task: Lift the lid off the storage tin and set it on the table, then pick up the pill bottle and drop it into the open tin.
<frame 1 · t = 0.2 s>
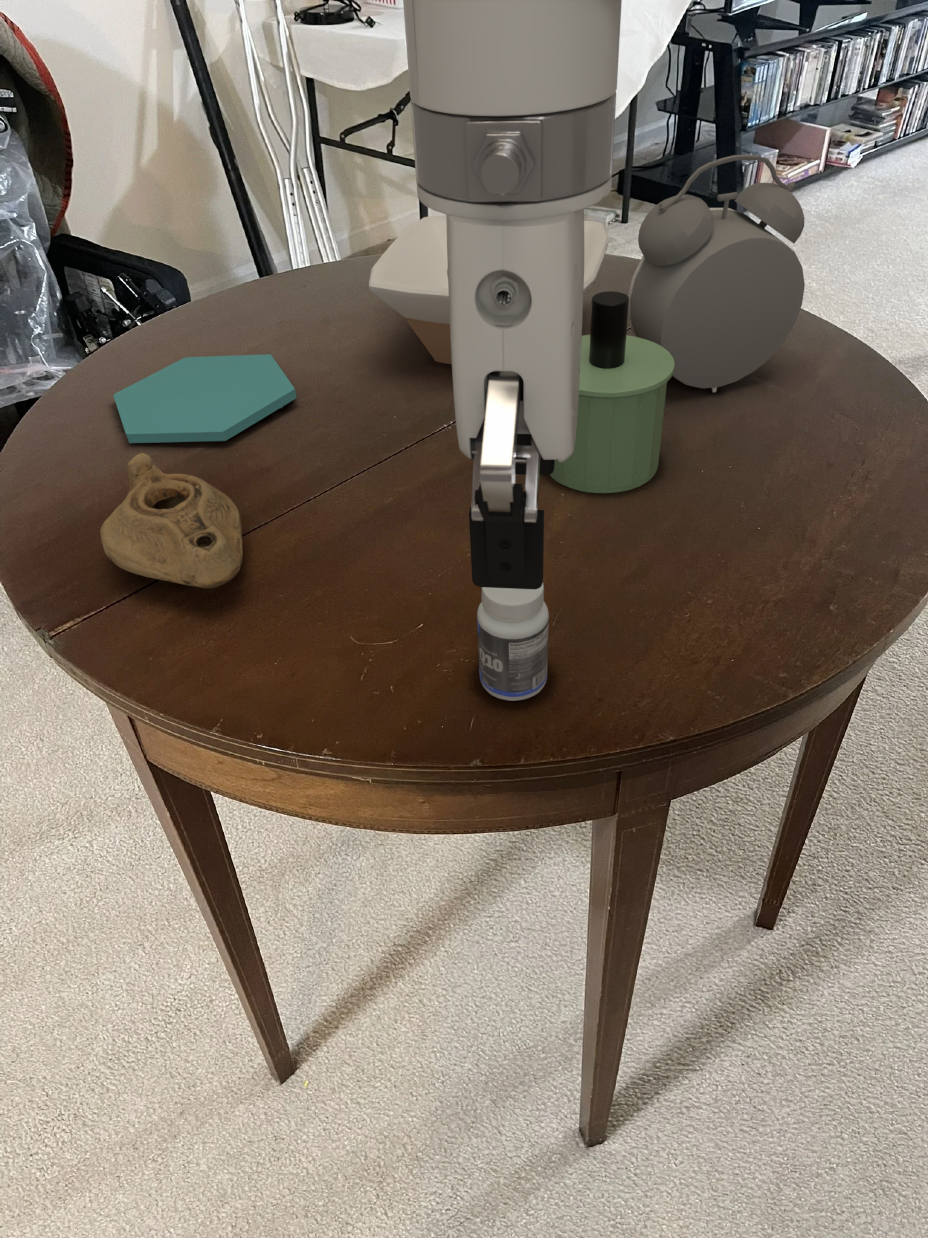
hand: (516, 523, 46), 19 cm above the table, tool pointing down, fingers open, 9 cm apart
tin lid: (606, 366, 80), point 9 cm above the table, touching storage tin
bowl: (494, 346, 107), on the table
storage tin: (600, 462, 86), on the table
pill bottle: (513, 680, 65), on the table
plaque: (206, 407, 98), on the table
alarm clock: (703, 384, 97), on the table
oil lamp: (193, 568, 76), on the table
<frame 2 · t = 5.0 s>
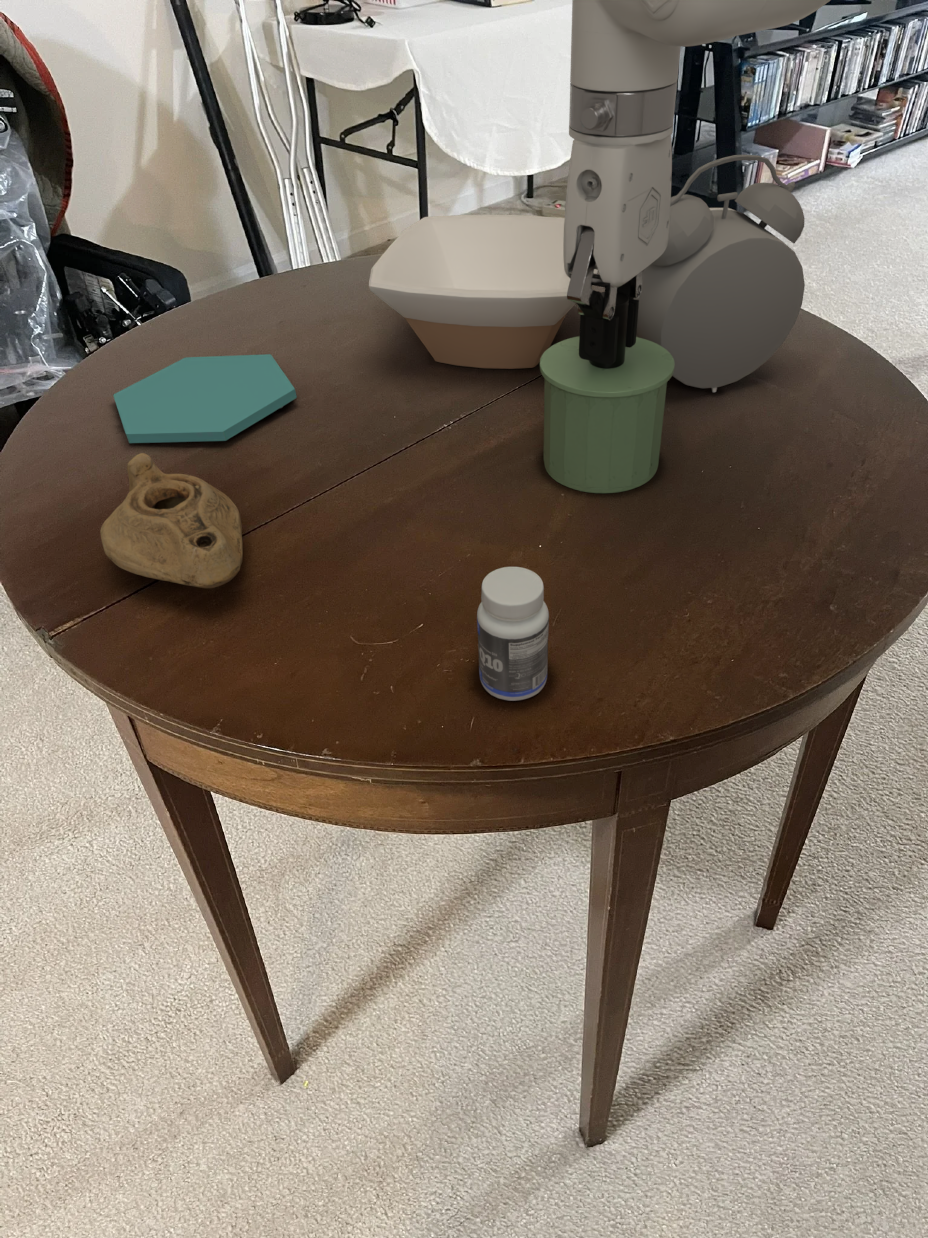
hand: (607, 349, 79), 11 cm above the table, tool pointing down, fingers closed on tin lid, 3 cm apart
tin lid: (606, 366, 80), point 10 cm above the table, touching gripper, storage tin
everything else where it was.
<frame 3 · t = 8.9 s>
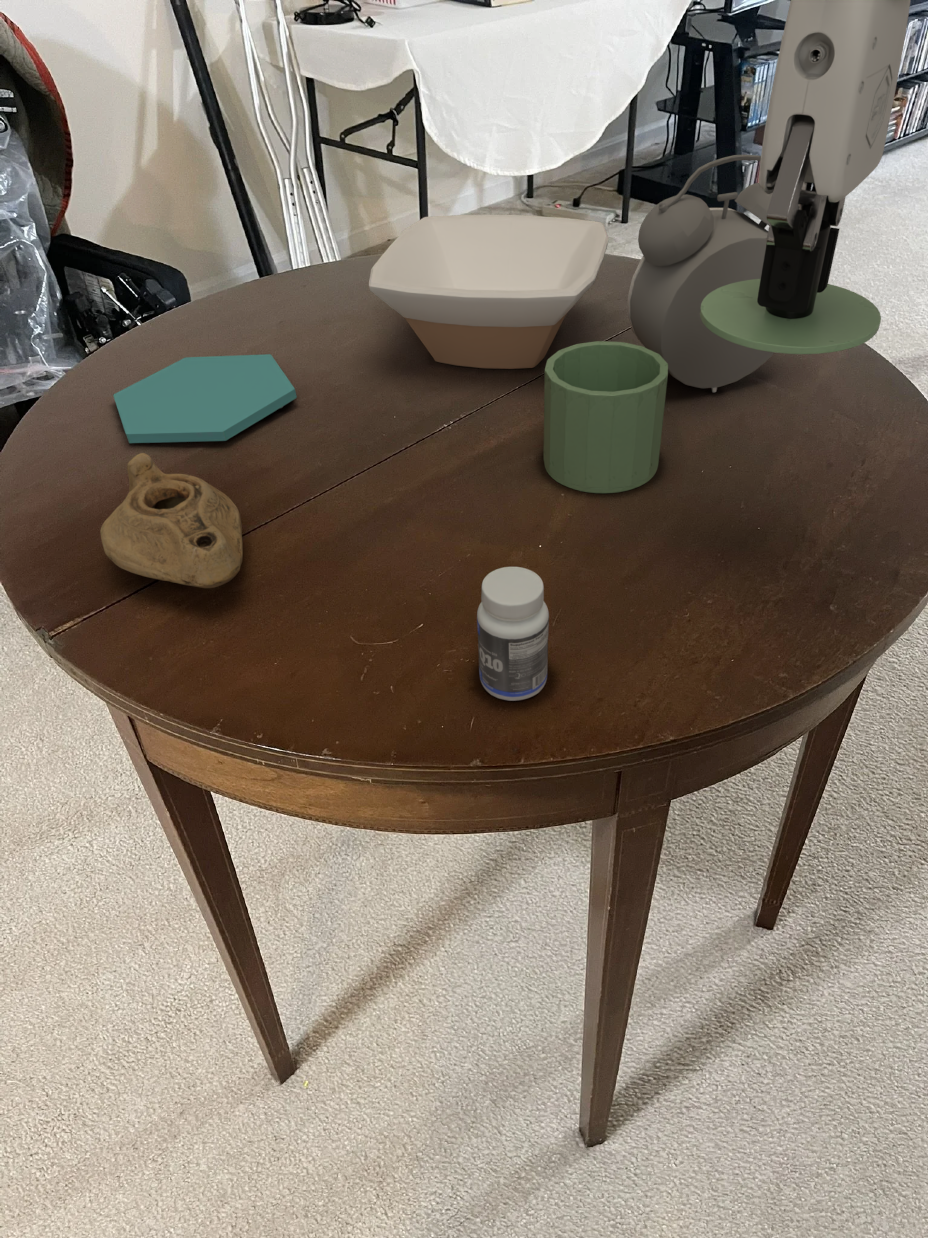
hand: (792, 295, 61), 21 cm above the table, tool pointing down, fingers closed on tin lid, 3 cm apart
tin lid: (787, 317, 62), point 20 cm above the table, touching gripper
everything else where it was.
when the fingers open (2 cm above the table, at t = 13.2 s): tin lid stays where it is, point 1 cm above the table.
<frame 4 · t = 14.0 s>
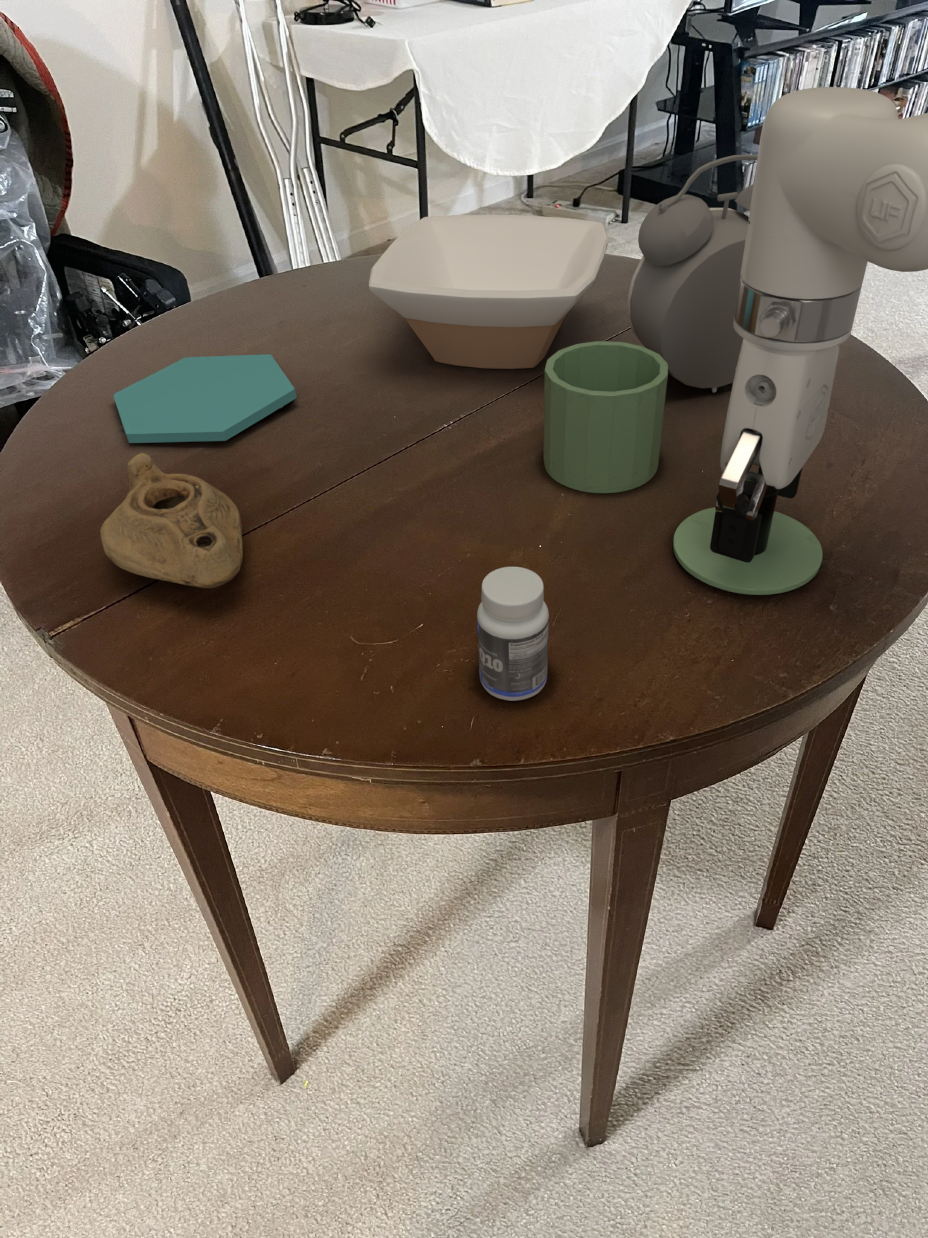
hand: (754, 522, 72), 3 cm above the table, tool pointing down, fingers open, 9 cm apart
tin lid: (746, 549, 74), point 1 cm above the table
everything else where it was.
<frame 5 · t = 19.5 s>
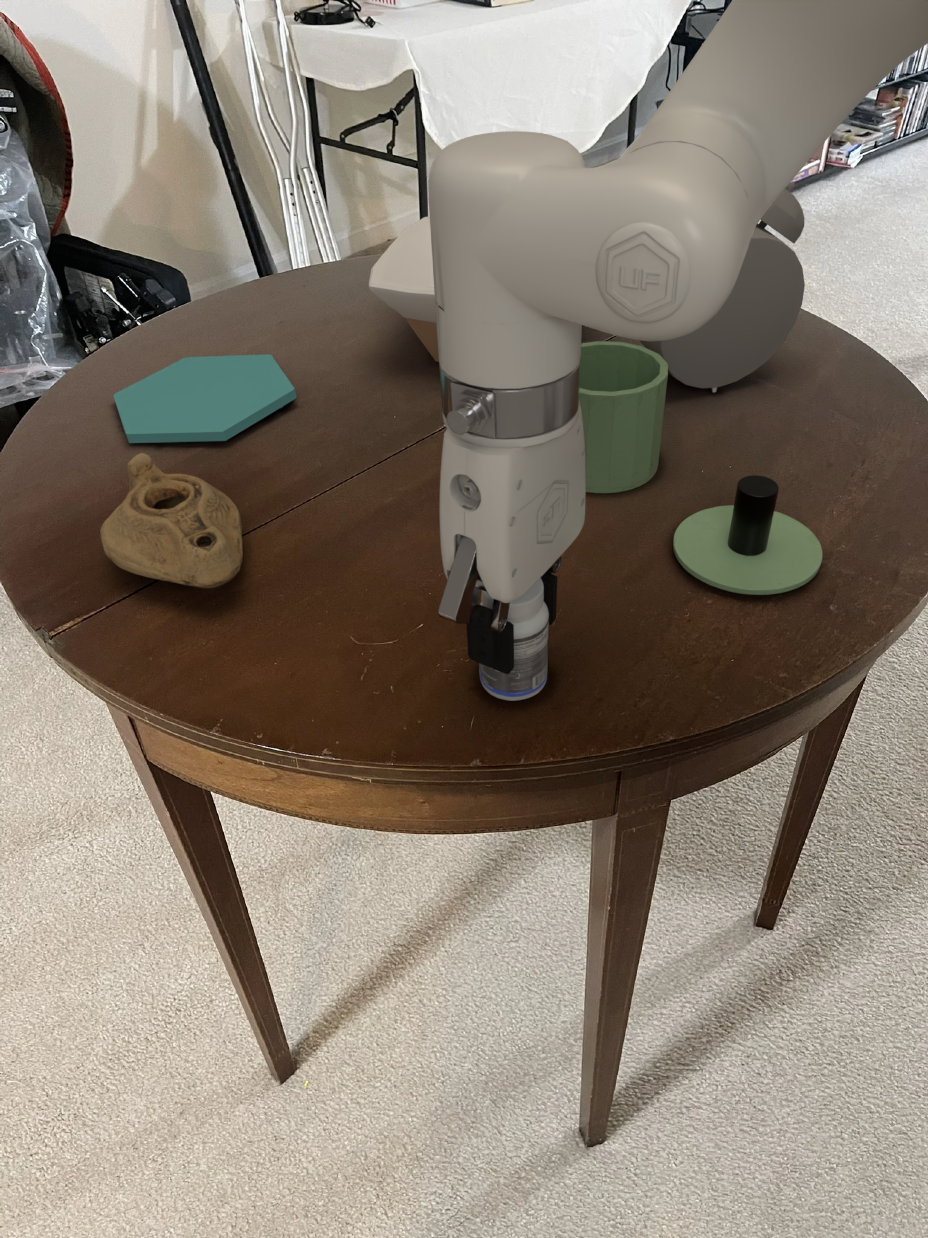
hand: (513, 637, 62), 4 cm above the table, tool pointing down, fingers closed on pill bottle, 4 cm apart
pill bottle: (513, 680, 65), on the table, touching gripper
everything else where it was.
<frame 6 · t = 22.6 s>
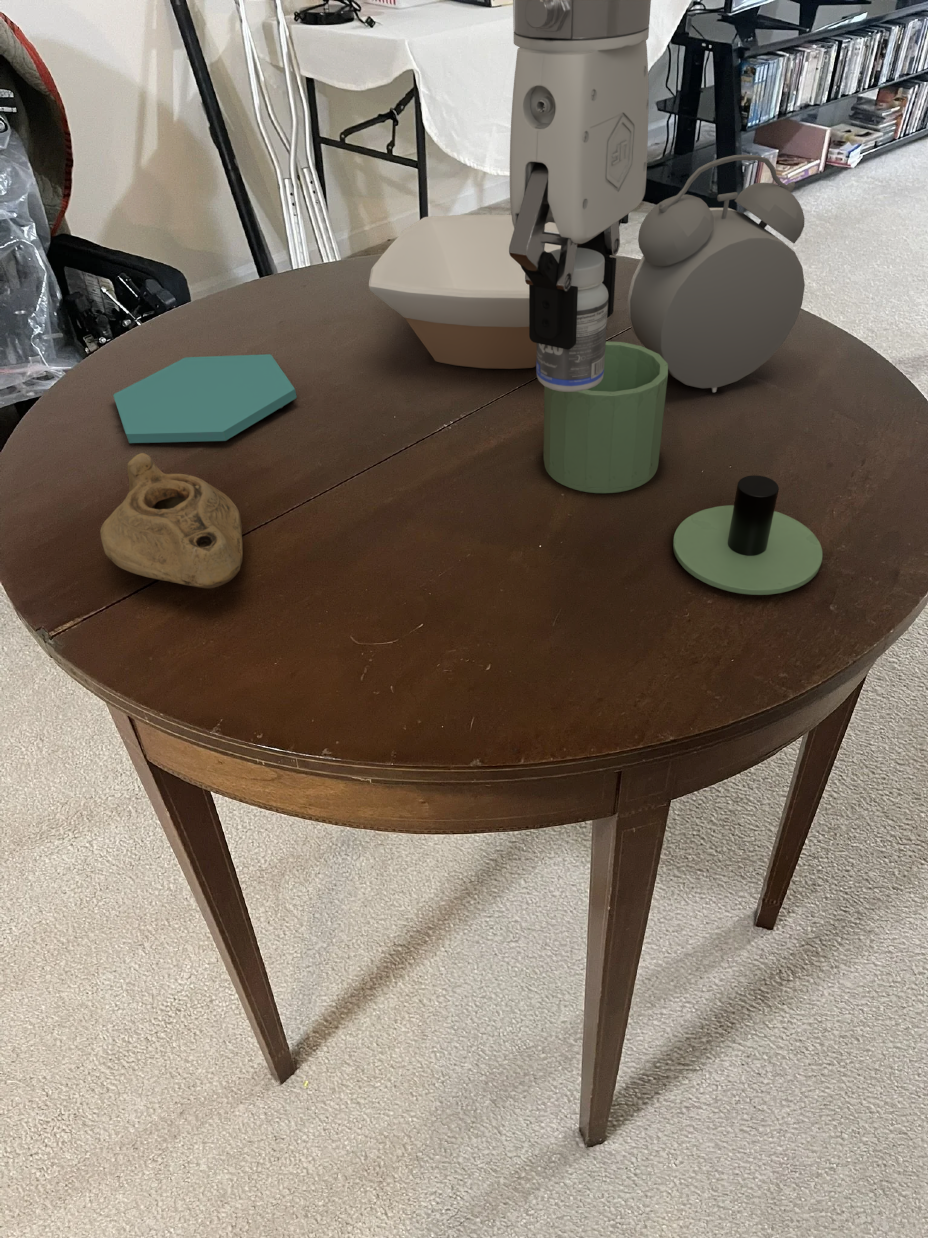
hand: (572, 325, 63), 19 cm above the table, tool pointing down, fingers closed on pill bottle, 4 cm apart
pill bottle: (569, 380, 65), point 15 cm above the table, touching gripper
everything else where it was.
when the fingers open (12 cm above the table, at t = 26.2 s): pill bottle drops 8 cm, resting on storage tin.
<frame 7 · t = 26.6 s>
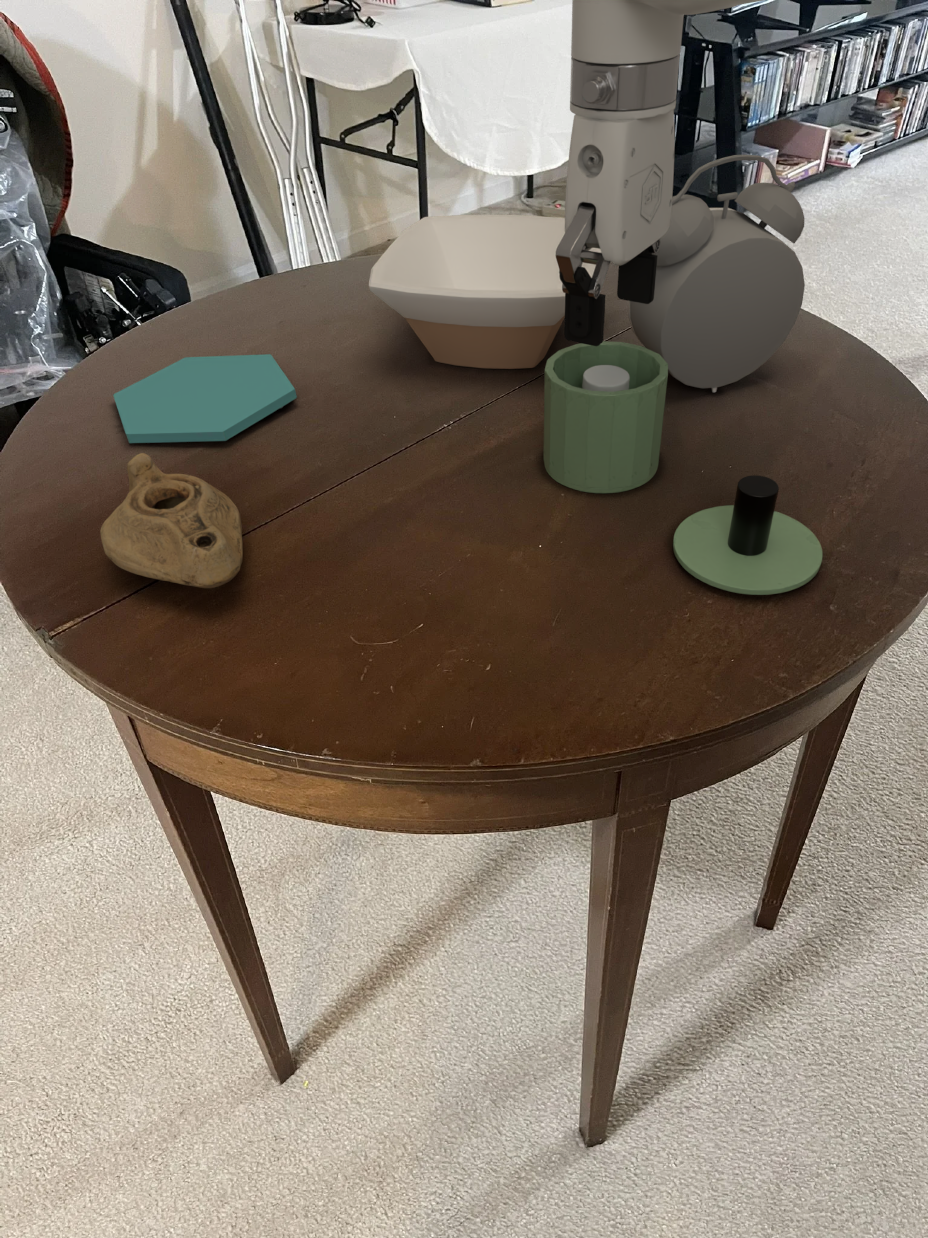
hand: (610, 320, 77), 14 cm above the table, tool pointing down, fingers open, 9 cm apart
pill bottle: (601, 460, 85), resting on storage tin
everything else where it was.
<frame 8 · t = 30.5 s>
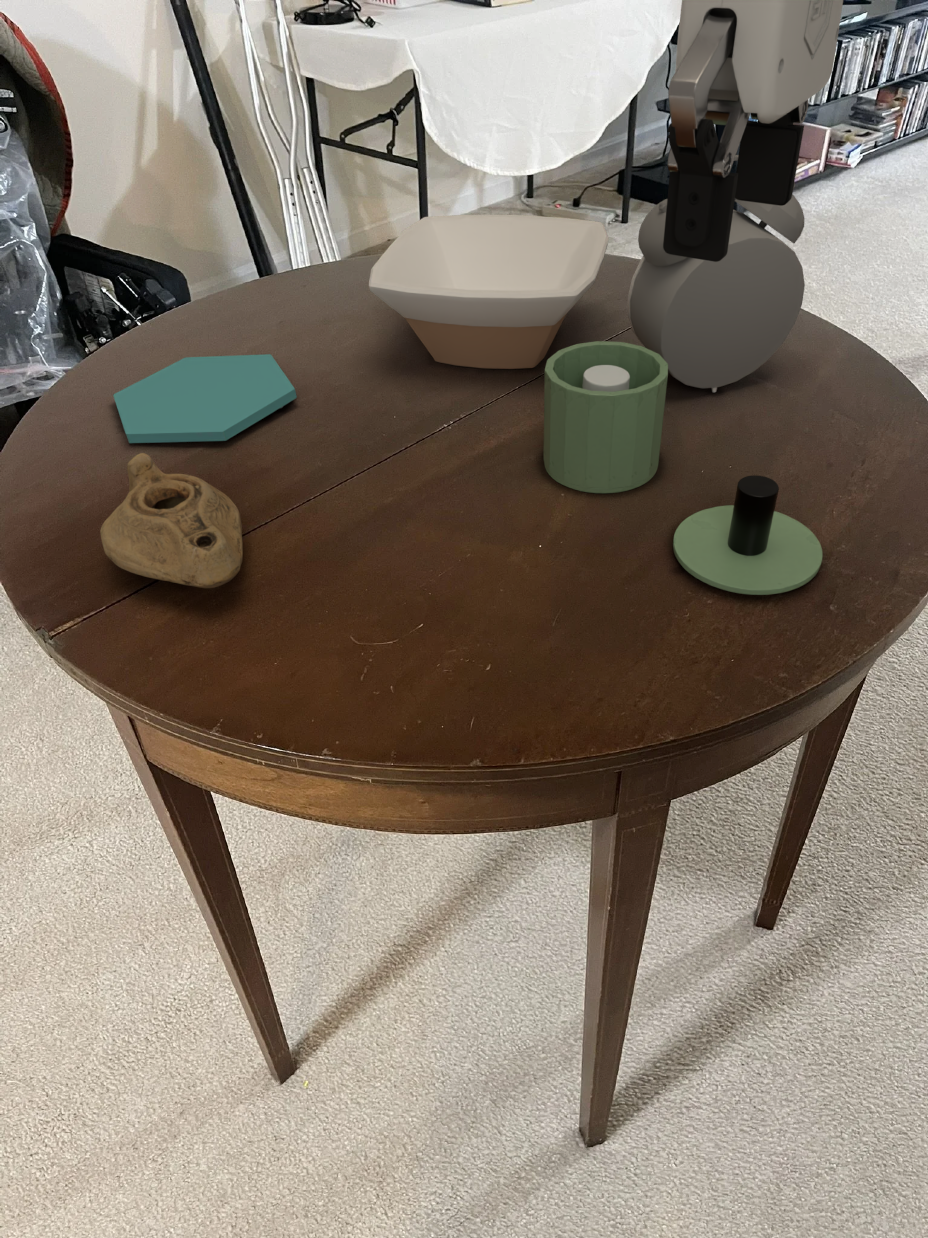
hand: (729, 226, 50), 28 cm above the table, tool pointing down, fingers open, 9 cm apart
nothing on the table moved.
at the end: pill bottle inside the target area in the storage tin (0.2 cm from its centre), point 0.3 cm above the storage tin's base; tin lid point 0.6 cm above the table; tin lid inside the target area (0.2 cm from its centre), point 0.6 cm above the table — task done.
